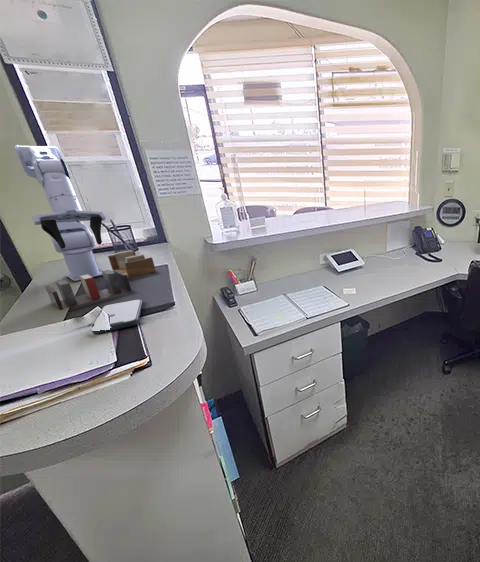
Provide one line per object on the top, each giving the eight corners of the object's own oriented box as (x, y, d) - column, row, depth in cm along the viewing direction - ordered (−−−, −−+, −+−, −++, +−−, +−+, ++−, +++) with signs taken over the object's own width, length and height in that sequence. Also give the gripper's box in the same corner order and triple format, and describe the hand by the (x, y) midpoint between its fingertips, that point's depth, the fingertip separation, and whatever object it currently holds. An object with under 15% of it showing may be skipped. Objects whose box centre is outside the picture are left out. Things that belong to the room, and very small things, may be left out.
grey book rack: (61, 313, 81) (50, 288, 78) (53, 306, 85) (43, 282, 82) (132, 293, 93) (125, 271, 90) (122, 287, 97) (115, 266, 95)
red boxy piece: (92, 299, 86) (84, 279, 84) (86, 295, 89) (79, 275, 87) (100, 297, 88) (93, 277, 86) (94, 293, 91) (87, 274, 88)
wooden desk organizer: (112, 271, 112) (106, 253, 110) (138, 266, 118) (133, 248, 116) (130, 280, 103) (123, 260, 101) (156, 273, 110) (151, 254, 107)
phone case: (104, 310, 82) (91, 336, 70) (102, 305, 82) (88, 329, 69) (144, 303, 87) (139, 325, 74) (142, 298, 86) (137, 319, 73)
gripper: (26, 193, 78) (46, 243, 78) (99, 193, 89) (117, 236, 89) (26, 206, 82) (45, 253, 82) (95, 204, 94) (112, 245, 93)
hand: (82, 245), depth 86 cm, fingers open, 7 cm apart
